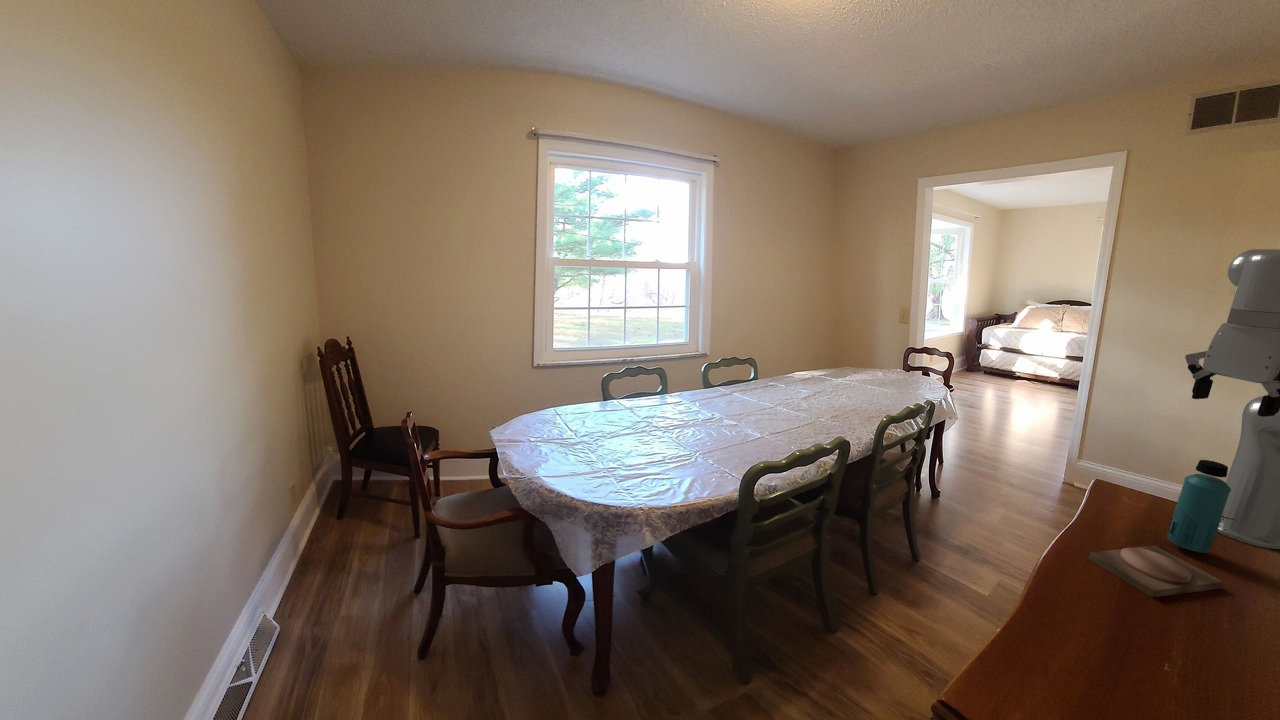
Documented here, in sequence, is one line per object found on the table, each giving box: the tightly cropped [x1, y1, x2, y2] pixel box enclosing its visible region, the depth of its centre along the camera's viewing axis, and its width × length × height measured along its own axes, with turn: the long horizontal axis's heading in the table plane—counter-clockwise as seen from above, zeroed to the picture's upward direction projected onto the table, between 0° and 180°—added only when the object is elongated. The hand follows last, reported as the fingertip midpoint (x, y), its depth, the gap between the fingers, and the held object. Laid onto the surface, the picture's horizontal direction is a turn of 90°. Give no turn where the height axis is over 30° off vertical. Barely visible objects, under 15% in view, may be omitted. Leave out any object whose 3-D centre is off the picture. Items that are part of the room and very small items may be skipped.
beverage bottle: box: [1166, 459, 1231, 554], centre depth 99 cm, size 6×7×20 cm
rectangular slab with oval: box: [1087, 544, 1224, 598], centre depth 94 cm, size 16×11×2 cm
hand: (1231, 406), depth 94 cm, fingers open, 9 cm apart
